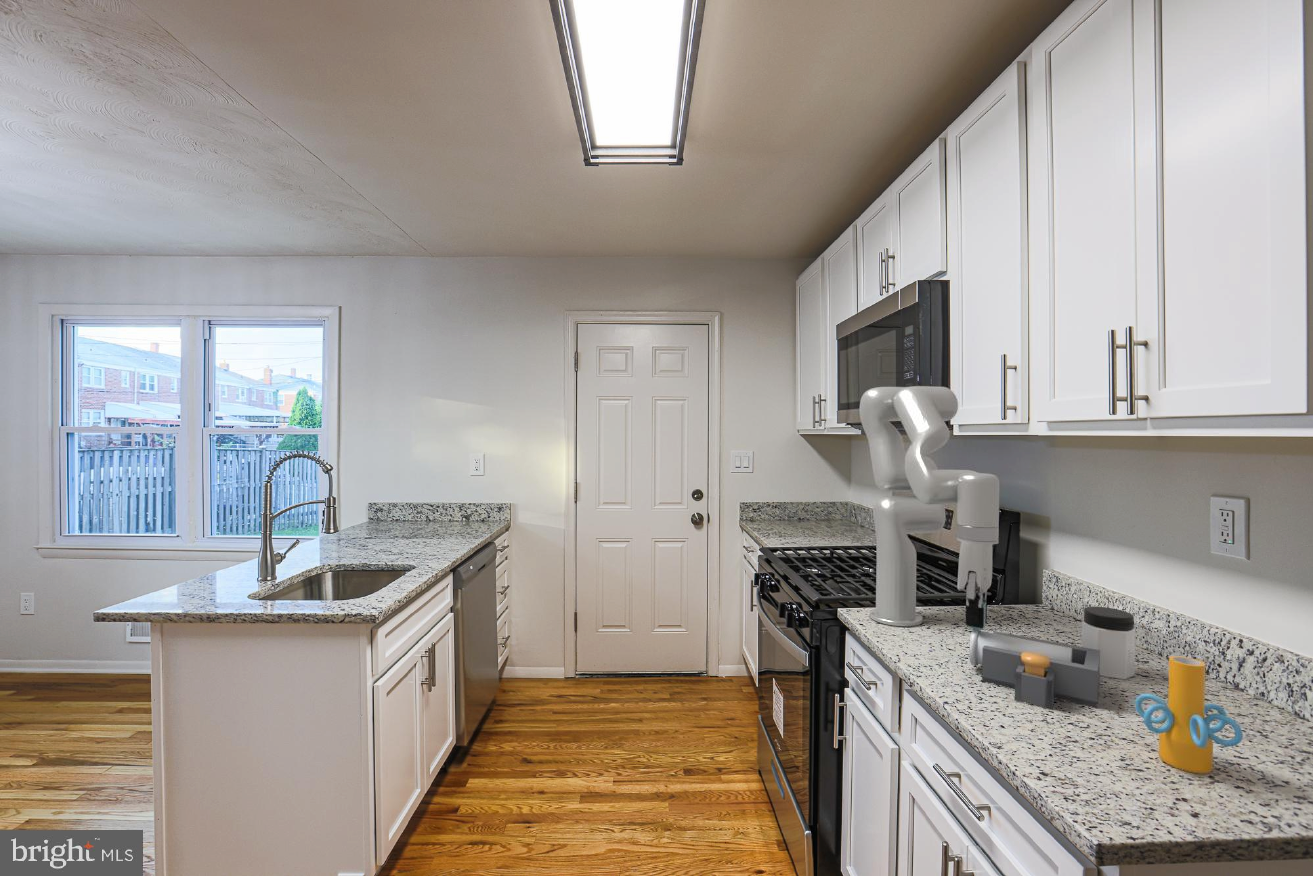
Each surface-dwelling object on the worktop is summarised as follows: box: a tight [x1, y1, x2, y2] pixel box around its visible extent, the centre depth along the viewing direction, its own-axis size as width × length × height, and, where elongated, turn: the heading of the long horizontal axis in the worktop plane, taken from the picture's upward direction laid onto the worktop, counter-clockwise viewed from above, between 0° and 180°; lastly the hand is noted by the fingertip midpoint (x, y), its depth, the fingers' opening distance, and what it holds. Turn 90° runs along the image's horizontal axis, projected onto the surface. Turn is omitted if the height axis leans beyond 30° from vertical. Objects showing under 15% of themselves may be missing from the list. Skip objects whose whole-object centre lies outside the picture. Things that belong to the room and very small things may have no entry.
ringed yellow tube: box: [1134, 655, 1244, 774], centre depth 90 cm, size 12×10×15 cm
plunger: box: [1021, 652, 1050, 677], centre depth 111 cm, size 4×4×7 cm
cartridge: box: [966, 602, 1072, 666], centre depth 121 cm, size 7×18×13 cm, turn 53°
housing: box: [981, 630, 1101, 710], centre depth 116 cm, size 19×18×6 cm
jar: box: [1080, 606, 1137, 681], centre depth 125 cm, size 9×8×12 cm
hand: (976, 623), depth 125 cm, fingers closed on cartridge, 2 cm apart
